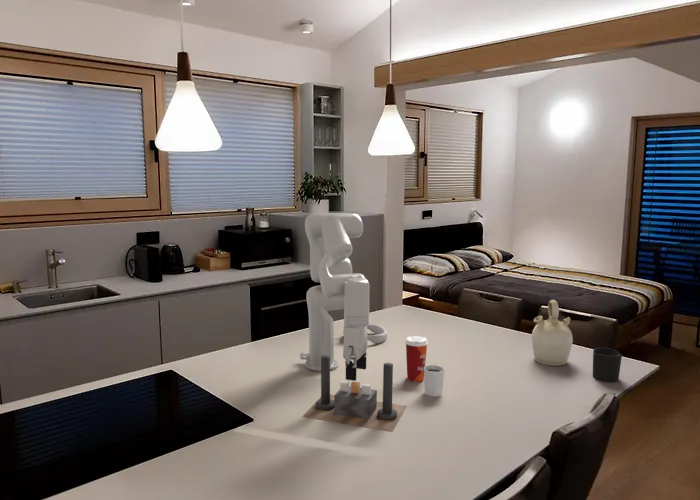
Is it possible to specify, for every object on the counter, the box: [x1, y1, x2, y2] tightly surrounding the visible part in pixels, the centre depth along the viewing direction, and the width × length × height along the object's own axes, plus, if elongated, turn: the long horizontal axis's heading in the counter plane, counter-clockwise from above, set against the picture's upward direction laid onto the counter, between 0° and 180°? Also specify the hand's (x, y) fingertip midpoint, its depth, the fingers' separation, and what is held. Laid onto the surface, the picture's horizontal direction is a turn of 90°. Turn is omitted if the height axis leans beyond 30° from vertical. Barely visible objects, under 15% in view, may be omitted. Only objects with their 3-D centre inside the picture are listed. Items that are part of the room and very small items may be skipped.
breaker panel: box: [302, 385, 408, 433], centre depth 163 cm, size 28×18×8 cm, turn 71°
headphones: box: [342, 323, 388, 344], centre depth 240 cm, size 18×8×20 cm
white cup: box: [423, 364, 445, 398], centre depth 177 cm, size 7×7×10 cm
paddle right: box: [361, 382, 372, 395], centre depth 161 cm, size 2×1×3 cm, turn 71°
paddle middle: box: [350, 381, 361, 394], centre depth 162 cm, size 2×1×3 cm, turn 71°
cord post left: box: [315, 355, 334, 411], centre depth 166 cm, size 6×6×16 cm
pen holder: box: [592, 347, 623, 383], centre depth 195 cm, size 9×9×10 cm
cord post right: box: [377, 362, 397, 421], centre depth 159 cm, size 6×6×16 cm
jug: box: [531, 299, 574, 367], centre depth 212 cm, size 15×16×25 cm
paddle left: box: [339, 379, 350, 392], centre depth 163 cm, size 2×1×3 cm, turn 71°
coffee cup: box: [404, 335, 429, 383], centre depth 193 cm, size 8×8×15 cm
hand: (356, 374), depth 162 cm, fingers open, 9 cm apart
